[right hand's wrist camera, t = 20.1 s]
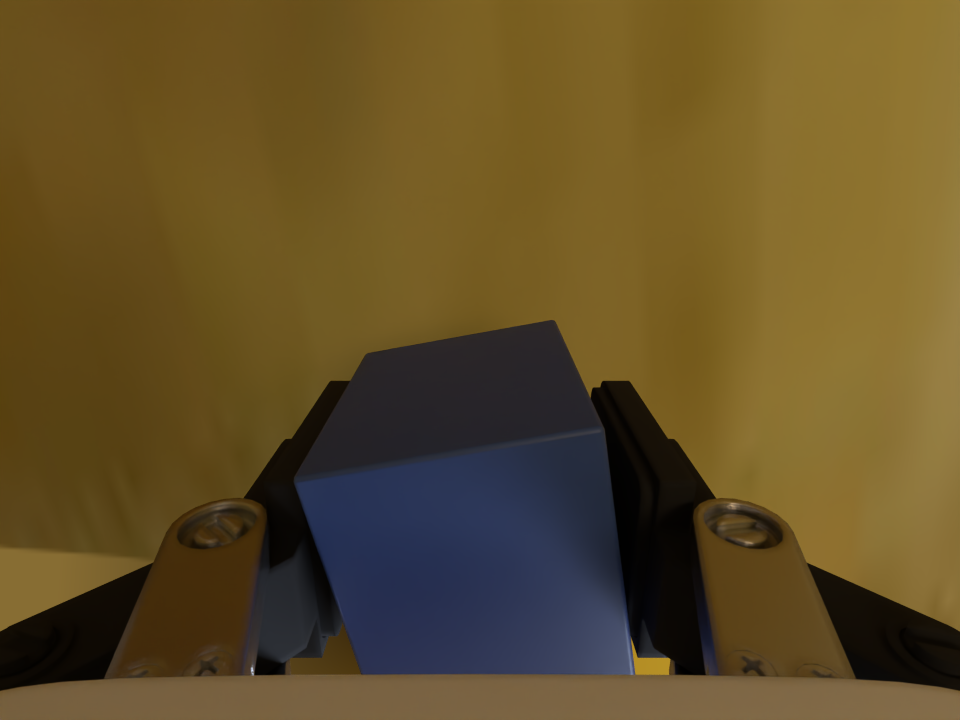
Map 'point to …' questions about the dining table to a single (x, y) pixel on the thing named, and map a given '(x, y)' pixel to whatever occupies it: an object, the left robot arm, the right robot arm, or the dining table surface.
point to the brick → (470, 511)
